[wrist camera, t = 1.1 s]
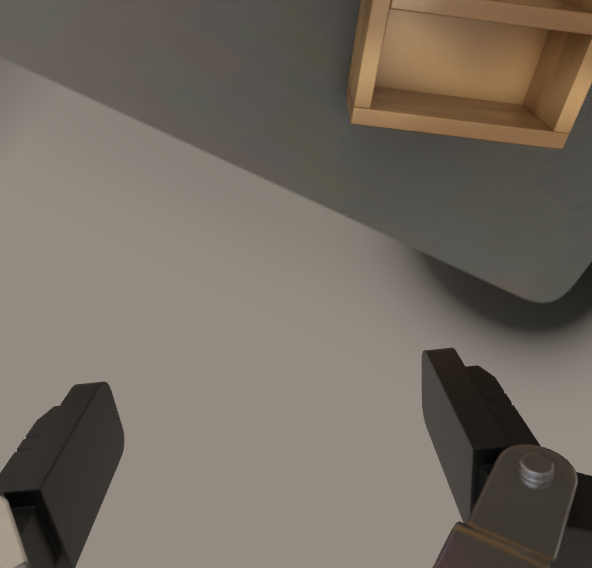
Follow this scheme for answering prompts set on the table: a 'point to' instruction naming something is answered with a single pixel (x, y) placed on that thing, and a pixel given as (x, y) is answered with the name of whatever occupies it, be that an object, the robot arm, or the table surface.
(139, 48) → the table surface
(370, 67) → the caddy
